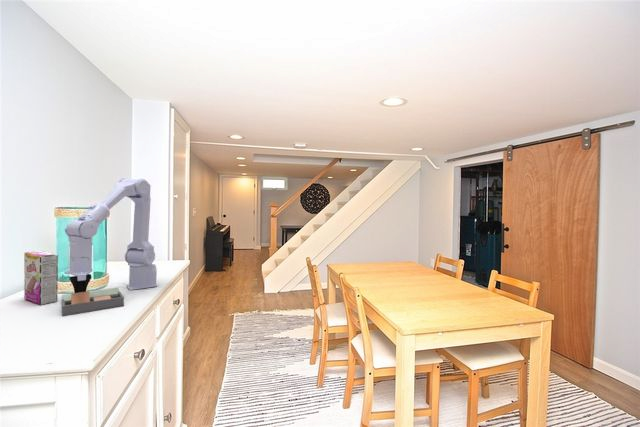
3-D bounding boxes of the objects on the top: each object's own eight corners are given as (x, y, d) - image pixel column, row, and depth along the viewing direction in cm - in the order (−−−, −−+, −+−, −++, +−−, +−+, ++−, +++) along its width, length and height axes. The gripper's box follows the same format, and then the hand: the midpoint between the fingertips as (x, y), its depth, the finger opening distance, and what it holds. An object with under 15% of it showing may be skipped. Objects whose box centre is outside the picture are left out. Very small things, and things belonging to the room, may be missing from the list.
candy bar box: (22, 300, 100) (23, 252, 100) (41, 296, 104) (42, 250, 104) (39, 306, 95) (40, 255, 95) (58, 301, 100) (59, 253, 99)
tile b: (88, 294, 97) (89, 291, 96) (89, 306, 95) (89, 303, 94) (71, 296, 94) (71, 293, 93) (71, 309, 92) (71, 306, 91)
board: (117, 292, 112) (117, 287, 111) (121, 298, 105) (121, 293, 105) (61, 300, 101) (61, 294, 101) (61, 307, 95) (61, 301, 94)
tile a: (109, 301, 101) (109, 295, 101) (111, 304, 98) (111, 298, 98) (93, 303, 98) (93, 297, 98) (94, 307, 95) (94, 301, 95)
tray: (119, 299, 104) (119, 290, 104) (123, 306, 98) (123, 297, 98) (61, 308, 94) (61, 298, 94) (62, 316, 88) (62, 306, 88)
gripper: (64, 254, 99) (63, 294, 99) (65, 261, 88) (64, 306, 88) (90, 252, 104) (90, 290, 104) (94, 259, 93) (93, 302, 93)
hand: (80, 297), depth 97 cm, fingers closed
